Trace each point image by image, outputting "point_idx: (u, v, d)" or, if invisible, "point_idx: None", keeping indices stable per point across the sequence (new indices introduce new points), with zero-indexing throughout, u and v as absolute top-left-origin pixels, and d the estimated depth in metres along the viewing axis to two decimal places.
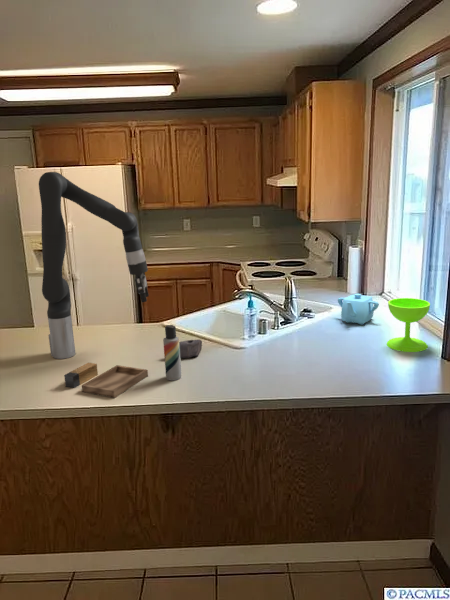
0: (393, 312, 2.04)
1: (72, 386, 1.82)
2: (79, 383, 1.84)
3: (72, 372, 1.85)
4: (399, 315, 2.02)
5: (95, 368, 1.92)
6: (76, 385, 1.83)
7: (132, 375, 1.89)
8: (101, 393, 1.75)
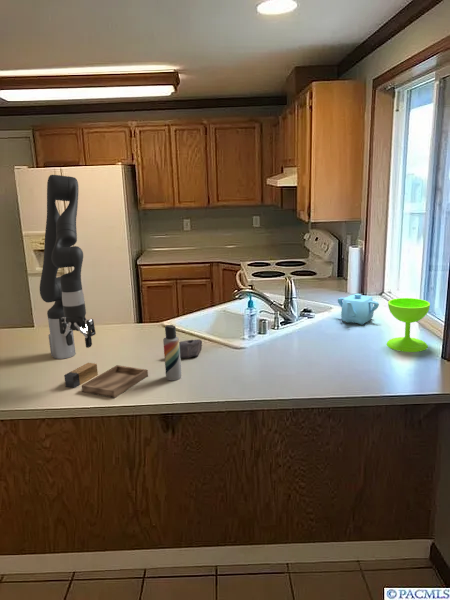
0: (393, 312, 2.04)
1: (72, 386, 1.82)
2: (79, 383, 1.84)
3: (72, 372, 1.85)
4: (399, 315, 2.02)
5: (95, 368, 1.92)
6: (76, 385, 1.83)
7: (132, 375, 1.89)
8: (101, 393, 1.75)
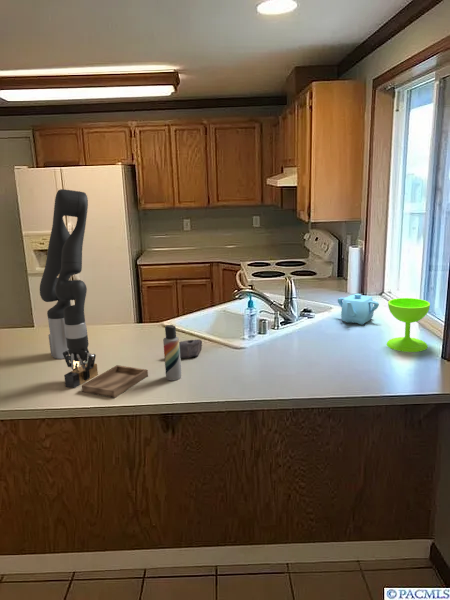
0: (393, 312, 2.04)
1: (72, 386, 1.82)
2: (79, 383, 1.84)
3: (72, 372, 1.85)
4: (399, 315, 2.02)
5: (95, 368, 1.92)
6: (76, 385, 1.83)
7: (132, 375, 1.89)
8: (101, 393, 1.75)
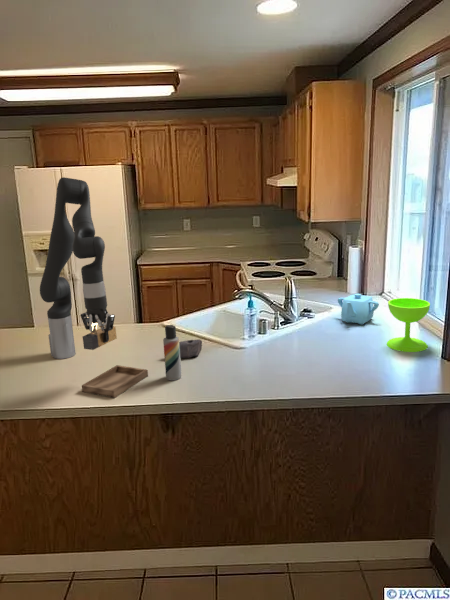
0: (393, 312, 2.04)
1: (91, 348, 1.75)
2: (98, 345, 1.77)
3: (90, 334, 1.78)
4: (399, 315, 2.02)
5: (114, 331, 1.85)
6: (95, 347, 1.76)
7: (132, 375, 1.89)
8: (101, 393, 1.75)
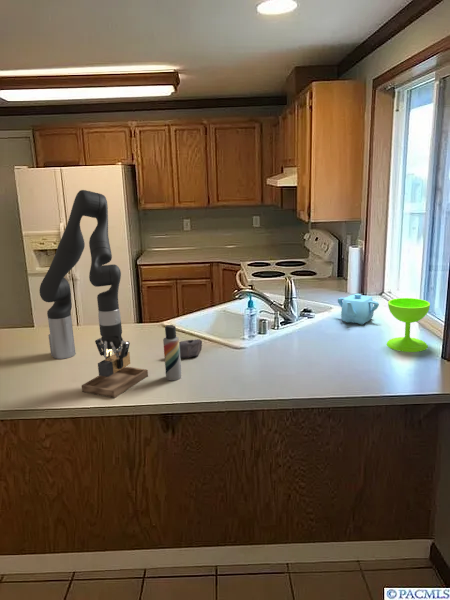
0: (393, 312, 2.04)
1: (106, 374, 1.76)
2: (113, 371, 1.79)
3: (105, 360, 1.79)
4: (399, 315, 2.02)
5: (128, 356, 1.86)
6: (110, 373, 1.77)
7: (132, 375, 1.89)
8: (101, 393, 1.75)
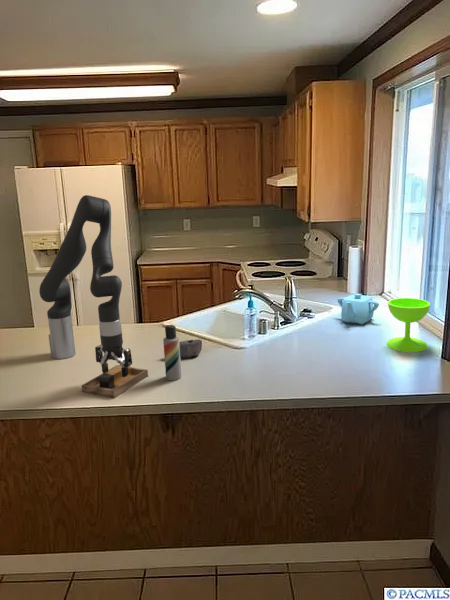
0: (393, 312, 2.04)
1: None
2: (114, 385, 1.80)
3: (106, 373, 1.80)
4: (399, 315, 2.02)
5: (129, 369, 1.87)
6: (111, 387, 1.78)
7: (132, 375, 1.89)
8: (101, 393, 1.75)
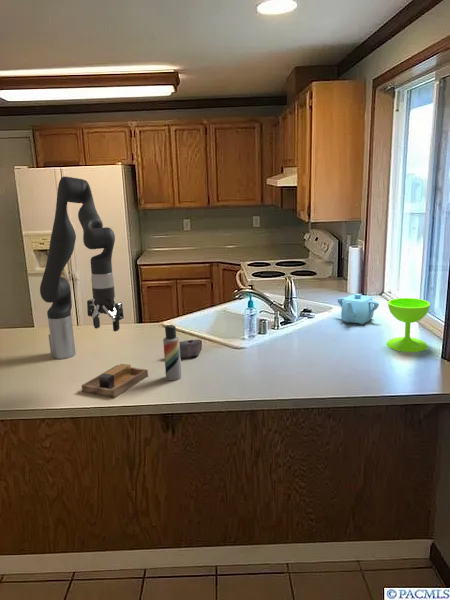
0: (393, 312, 2.04)
1: None
2: (114, 385, 1.80)
3: (106, 373, 1.80)
4: (399, 315, 2.02)
5: (129, 369, 1.87)
6: (111, 387, 1.78)
7: (132, 375, 1.89)
8: (101, 393, 1.75)
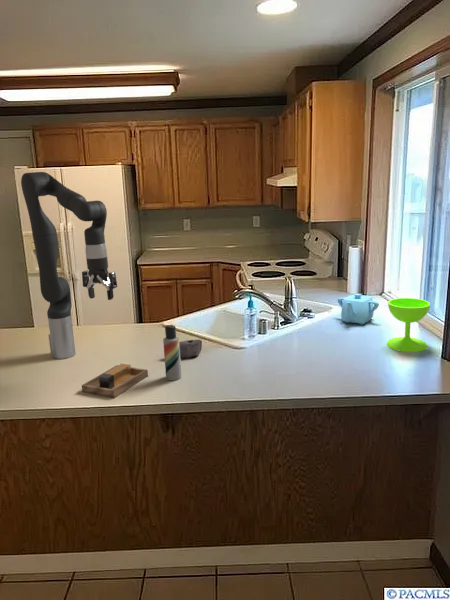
0: (393, 312, 2.04)
1: None
2: (114, 385, 1.80)
3: (106, 373, 1.80)
4: (399, 315, 2.02)
5: (129, 369, 1.87)
6: (111, 387, 1.78)
7: (132, 375, 1.89)
8: (101, 393, 1.75)
